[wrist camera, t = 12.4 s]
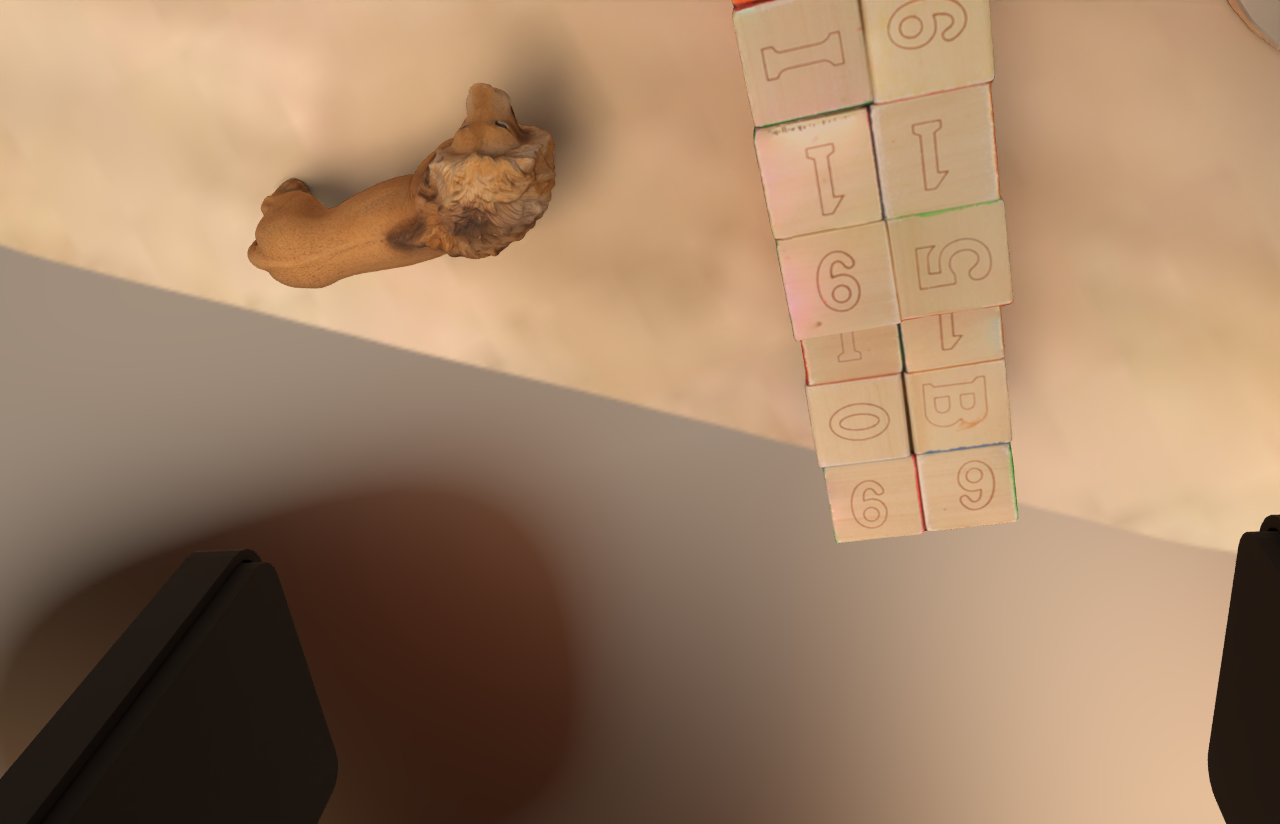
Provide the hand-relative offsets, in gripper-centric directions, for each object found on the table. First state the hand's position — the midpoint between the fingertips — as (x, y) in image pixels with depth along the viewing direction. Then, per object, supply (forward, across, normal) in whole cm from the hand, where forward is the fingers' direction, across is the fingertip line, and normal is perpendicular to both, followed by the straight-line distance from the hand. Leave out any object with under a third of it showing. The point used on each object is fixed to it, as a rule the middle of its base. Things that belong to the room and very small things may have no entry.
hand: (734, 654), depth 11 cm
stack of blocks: (+33, -3, +4) cm, 33 cm away
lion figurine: (+33, +14, +3) cm, 35 cm away
